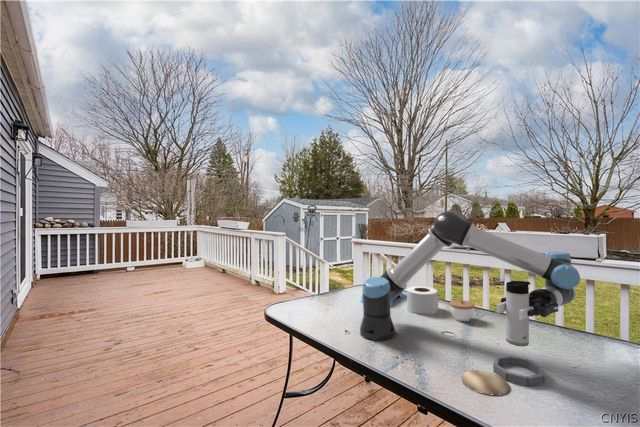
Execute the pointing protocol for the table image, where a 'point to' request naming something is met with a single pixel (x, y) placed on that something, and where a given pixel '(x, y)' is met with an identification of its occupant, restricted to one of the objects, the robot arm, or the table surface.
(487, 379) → the coaster
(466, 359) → the table surface
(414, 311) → the toilet paper roll
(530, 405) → the table surface
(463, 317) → the lidded jar
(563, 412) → the table surface
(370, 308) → the robot arm
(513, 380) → the collar
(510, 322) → the travel mug
